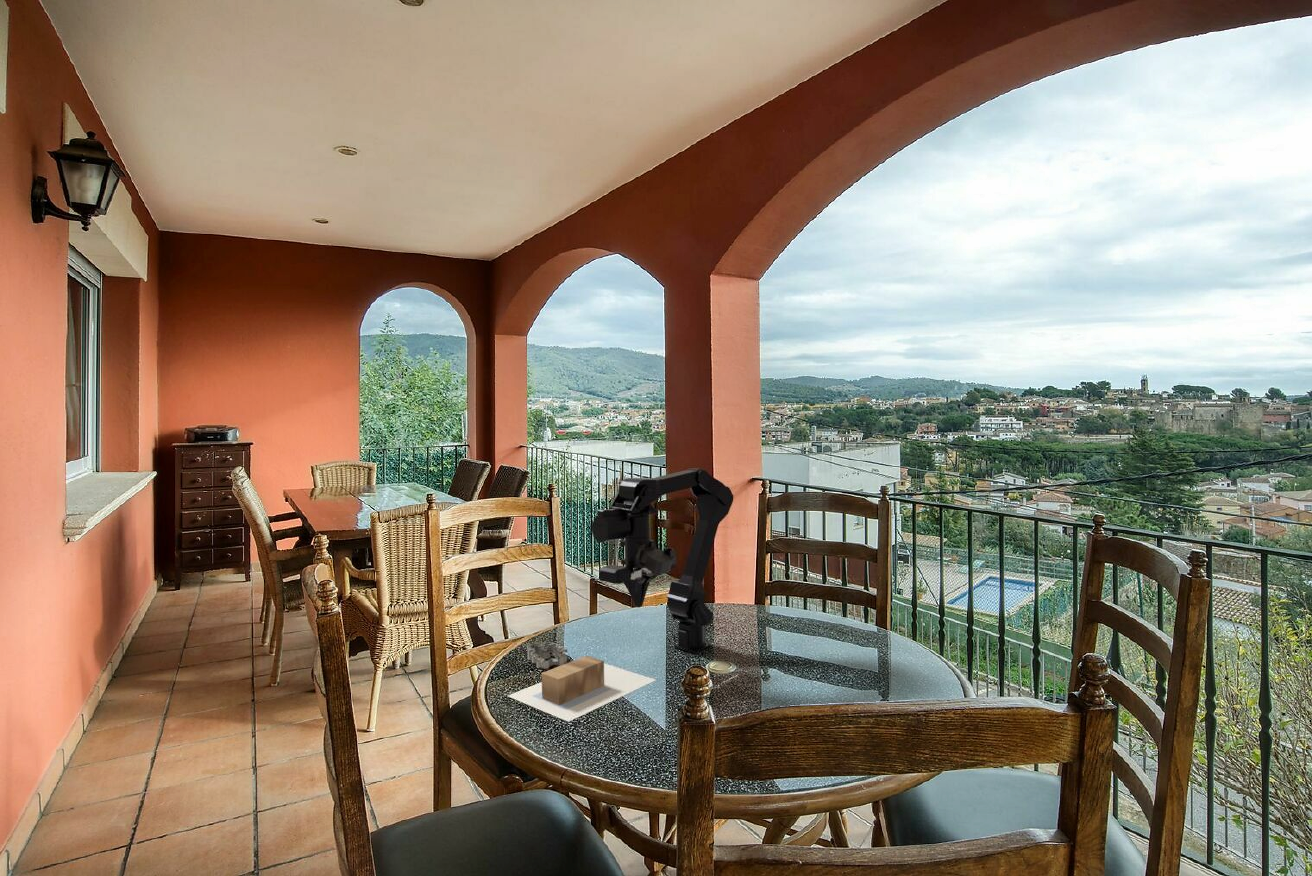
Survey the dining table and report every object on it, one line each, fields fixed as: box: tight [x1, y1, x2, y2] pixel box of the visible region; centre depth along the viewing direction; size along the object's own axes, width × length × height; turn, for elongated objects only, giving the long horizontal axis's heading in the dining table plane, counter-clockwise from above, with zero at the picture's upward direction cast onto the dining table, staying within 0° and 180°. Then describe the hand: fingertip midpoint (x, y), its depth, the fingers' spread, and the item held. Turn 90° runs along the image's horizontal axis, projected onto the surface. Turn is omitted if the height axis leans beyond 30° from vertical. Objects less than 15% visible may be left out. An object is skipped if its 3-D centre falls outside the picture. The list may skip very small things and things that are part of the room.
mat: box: [507, 662, 657, 723], centre depth 138 cm, size 24×18×1 cm
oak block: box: [541, 655, 605, 705], centre depth 136 cm, size 5×5×12 cm
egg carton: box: [526, 641, 569, 670], centre depth 154 cm, size 11×8×4 cm
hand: (639, 606), depth 150 cm, fingers closed
